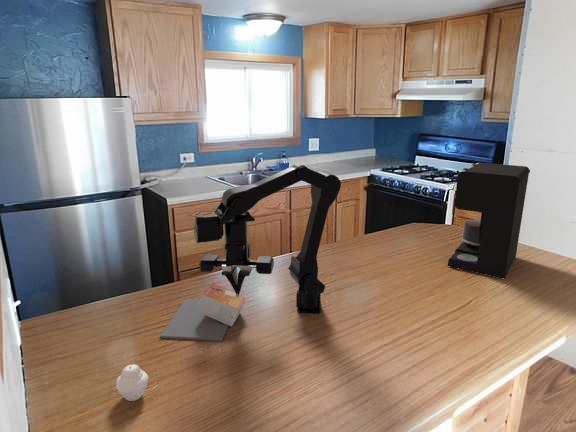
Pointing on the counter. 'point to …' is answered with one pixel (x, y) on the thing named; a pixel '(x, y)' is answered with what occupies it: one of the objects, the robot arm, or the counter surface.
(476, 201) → the coffee maker
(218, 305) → the small box
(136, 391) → the muffin
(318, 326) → the counter surface
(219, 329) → the mat
